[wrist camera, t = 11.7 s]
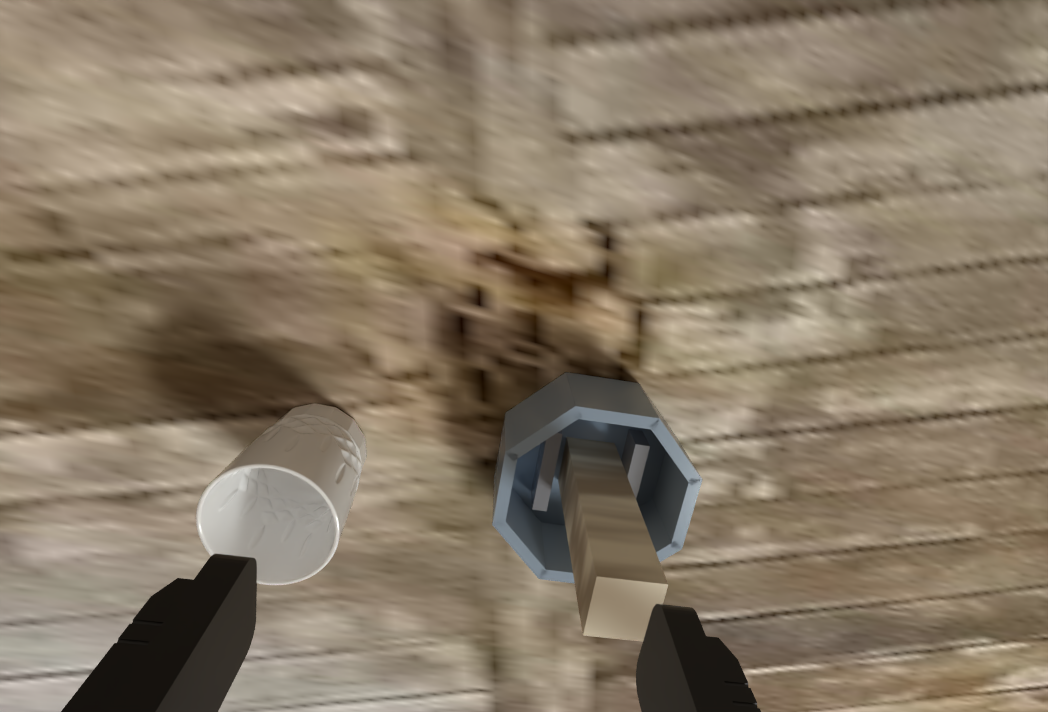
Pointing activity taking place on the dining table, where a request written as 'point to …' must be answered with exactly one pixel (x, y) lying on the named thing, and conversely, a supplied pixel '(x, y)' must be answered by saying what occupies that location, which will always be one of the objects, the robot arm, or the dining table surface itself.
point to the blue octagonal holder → (536, 455)
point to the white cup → (286, 495)
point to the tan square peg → (608, 543)
